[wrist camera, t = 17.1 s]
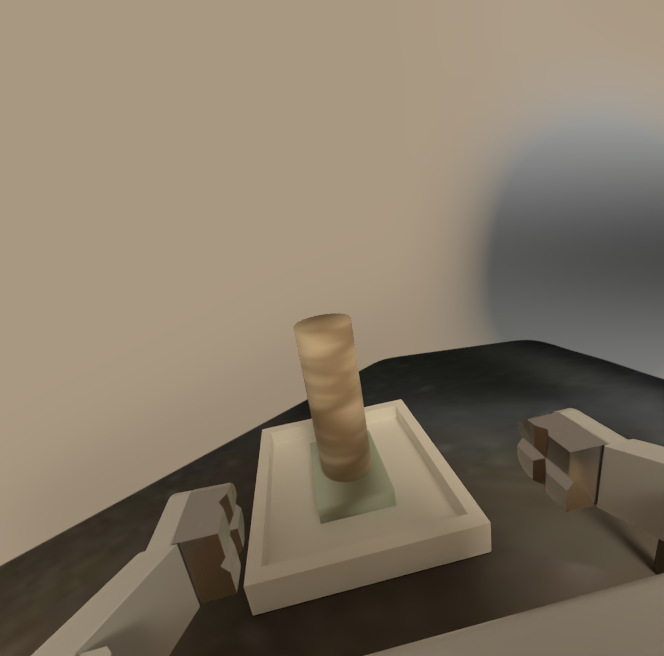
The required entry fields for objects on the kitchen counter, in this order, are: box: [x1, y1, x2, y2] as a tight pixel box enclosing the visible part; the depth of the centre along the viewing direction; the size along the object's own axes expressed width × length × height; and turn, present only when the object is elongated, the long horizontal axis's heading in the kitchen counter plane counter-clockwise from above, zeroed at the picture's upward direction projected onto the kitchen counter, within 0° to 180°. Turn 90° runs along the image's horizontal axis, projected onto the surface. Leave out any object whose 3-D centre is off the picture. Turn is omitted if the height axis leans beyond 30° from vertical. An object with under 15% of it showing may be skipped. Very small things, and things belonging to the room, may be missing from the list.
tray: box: [244, 399, 491, 616], centre depth 29 cm, size 16×17×2 cm
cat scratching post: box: [294, 314, 396, 524], centre depth 27 cm, size 6×8×15 cm
